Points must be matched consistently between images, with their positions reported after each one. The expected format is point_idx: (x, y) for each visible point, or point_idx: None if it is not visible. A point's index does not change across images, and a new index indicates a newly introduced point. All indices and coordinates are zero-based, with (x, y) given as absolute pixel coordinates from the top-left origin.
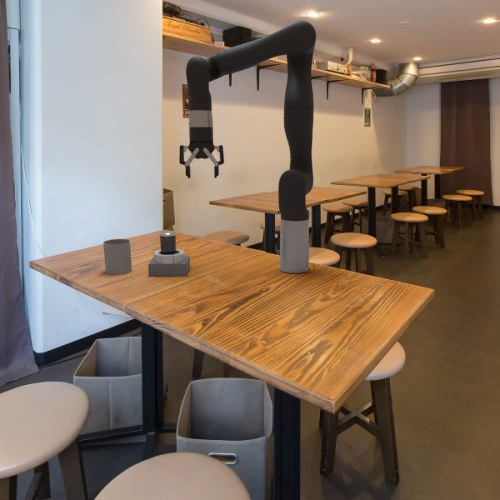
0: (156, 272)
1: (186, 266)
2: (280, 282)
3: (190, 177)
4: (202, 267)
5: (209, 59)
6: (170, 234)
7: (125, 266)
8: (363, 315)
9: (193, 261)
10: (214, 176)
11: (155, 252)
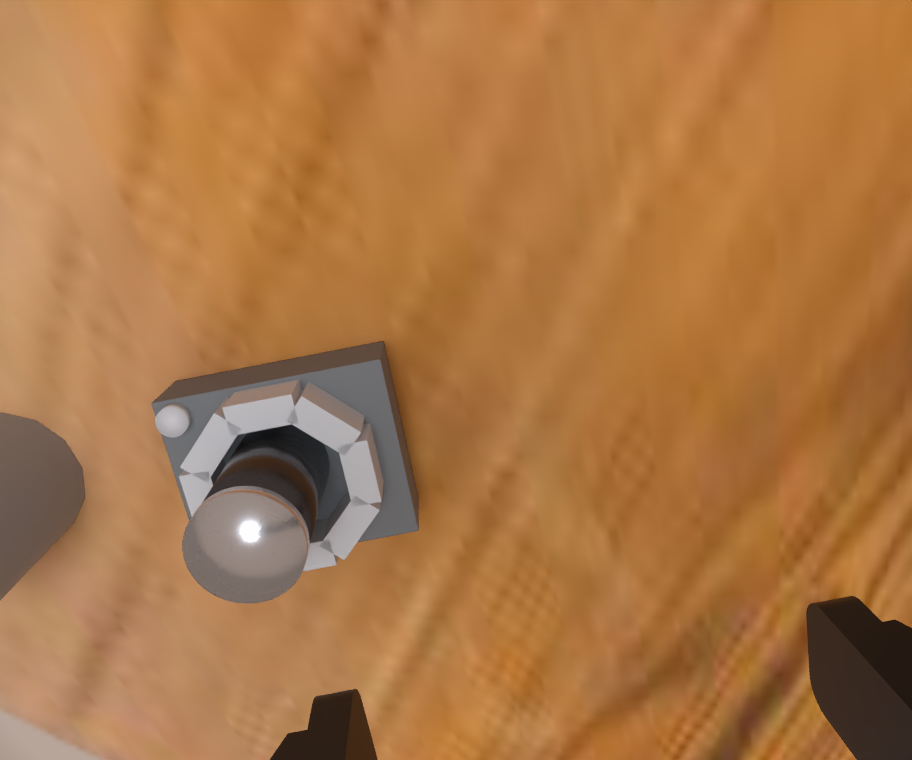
0: None
1: (417, 520)
2: (896, 515)
3: (360, 705)
4: (460, 335)
5: None
6: (287, 588)
7: (58, 534)
8: None
9: (365, 212)
10: (829, 718)
11: (193, 506)
